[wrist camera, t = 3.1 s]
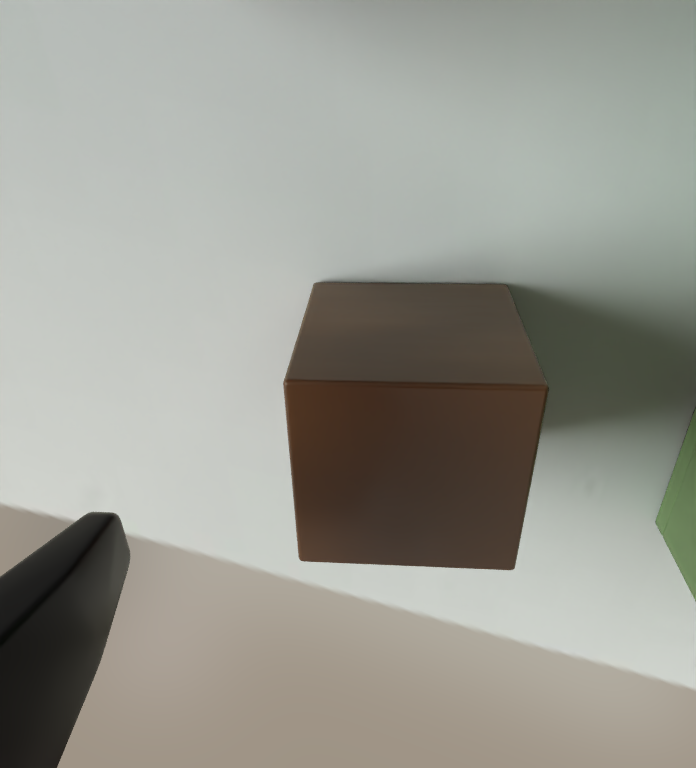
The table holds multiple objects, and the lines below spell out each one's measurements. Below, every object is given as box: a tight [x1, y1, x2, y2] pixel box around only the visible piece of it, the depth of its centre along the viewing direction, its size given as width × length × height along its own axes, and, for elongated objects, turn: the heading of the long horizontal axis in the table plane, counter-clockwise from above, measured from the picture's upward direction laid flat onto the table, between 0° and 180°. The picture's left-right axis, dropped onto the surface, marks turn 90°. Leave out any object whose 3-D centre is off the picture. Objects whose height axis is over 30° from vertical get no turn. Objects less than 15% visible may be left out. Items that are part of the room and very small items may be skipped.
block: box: [283, 283, 549, 570], centre depth 12 cm, size 4×4×4 cm
